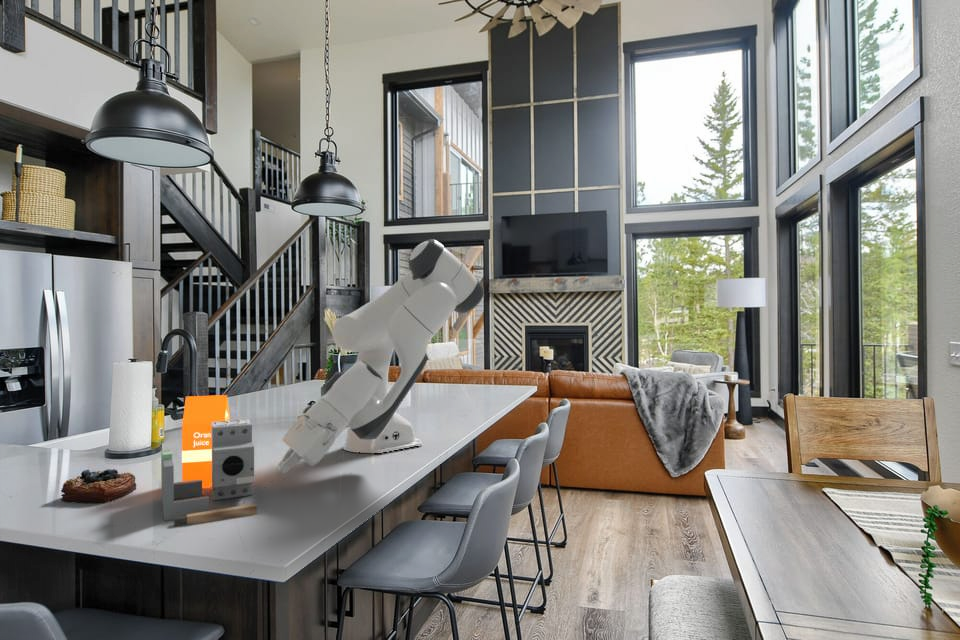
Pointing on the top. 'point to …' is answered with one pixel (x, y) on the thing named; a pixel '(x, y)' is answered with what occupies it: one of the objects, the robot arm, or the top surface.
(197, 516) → the stylus
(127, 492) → the pastry
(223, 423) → the circuit breaker
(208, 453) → the orange juice
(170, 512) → the bay
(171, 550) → the top surface
